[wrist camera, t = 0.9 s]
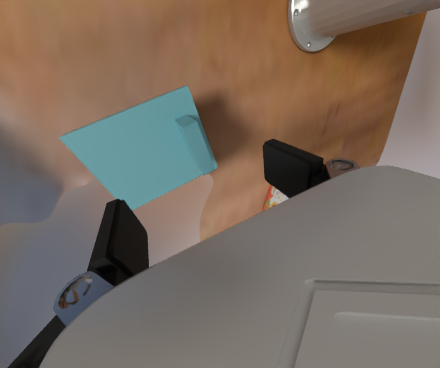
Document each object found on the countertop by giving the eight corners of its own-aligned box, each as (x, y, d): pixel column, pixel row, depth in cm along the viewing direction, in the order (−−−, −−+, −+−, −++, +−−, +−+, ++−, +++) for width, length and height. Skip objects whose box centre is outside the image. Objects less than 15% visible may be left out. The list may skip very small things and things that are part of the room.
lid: (184, 85, 21) (200, 85, 15) (213, 162, 28) (231, 181, 22) (65, 133, 19) (33, 153, 13) (129, 204, 25) (126, 237, 20)
